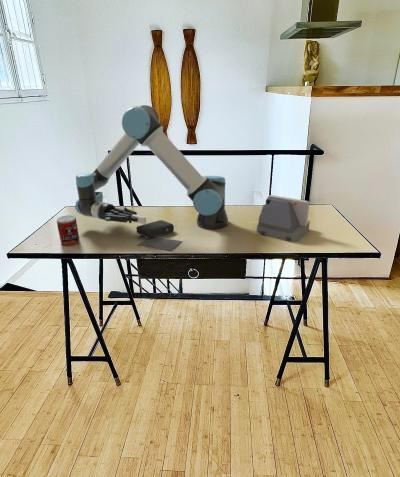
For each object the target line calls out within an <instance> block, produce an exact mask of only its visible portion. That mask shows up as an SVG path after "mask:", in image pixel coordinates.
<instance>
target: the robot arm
mask: <svg viewBox="0 0 400 477" xmlns="http://www.w3.org/2000/svg"><path fill="white" fill-rule="evenodd" d="M121 126H122V129H123V132H124V134H123V135H122V137H120V139H119V140H118V142H116V144H115V145H114V146H113V147H112V149H111V150H110V151H109V152H108V154H106V156H105V157H104V158H103V160H102V161H101V162H100V164H98V165H97V167H96V168H95V170H94V171H93V172H92V173H91V172H81V173H78V174H76V175H75V184H76V190H77V194H78V199H77V200H76V201H75V206H74V210H76V213H78V214H80V215H83V216H86V217H92V218H96V219H99V220H103V221H106V222H117V223H126V224H127V223H128V224H132V223H133V222H134V223H139V224H141V225H144V224H147V217H146V216H144V215H139V214H138V213H137V211H135V210H131V209H129V208H127V207H123V208H122V209H121V208H118V207H115V205H113V204H112V203H106V202H103V201H102V202H98V201H96V193H95V192H97V190H100V189H101V188H102V187H105V186H106V184H108V183H109V180H110V178H112V176H113V175H114V174H115V173H116V171H117V170H118V169H119V168H120V167H121V166H122V165H123V163H124V162H126V161H127V160H126V159H128V158H129V156H130V155H131V154H132V153H133V152H134V151H135V149H136V148H137V147H138V146H141V147H147V148H148V149H149V150H150V152H152V153H153V155H155V156H156V158H158V160H159V161H160V162H161V164H163V165H164V167H166V169H167V170H168V171H169V172H170V173H171V174H172V175H173V176H174V177H175V178H176V179H177V181H178V182H179V183H180V184H181V185H182V187H184V189H185V190H186V196H187V197H188V198H189V199H190V200H191V202H192V206H193V208H194V209H195V211H196V212H197V213H198V215H197V218H196V225H197V226H198V227H200V228H202V229H206V230H217V229H222V228H225V227H227V226H228V225H229V218H228V214H227V211H226V178H225V177H224V176H221V175H220V176H218V175H204V176H203V175H201V174H200V172H199V171H198V170H197V169H196V168H195V167H194V166H193V164H192V163H190V162H191V161H189V160H188V159H187V158H186V157H185V155H184V154H183V153H182V152H181V151H180V149H178V148H177V146H176V145H175V144H174V143H173V142H172V141H171V140H170V138H169V137H168V136H167V135H166V134H165V133H164V126H163V125H162V123H160V117H159V114H158V112H157V110H156V109H155V108H153V107H152V106H151V105H146V104H144V105H135V106H131V107H130V108H128V109H127V110H125V111H124V113H123V115H122V118H121ZM139 144H140V145H139Z"/></svg>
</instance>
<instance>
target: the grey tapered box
mask: <svg viewBox="0 0 400 477" xmlns="http://www.w3.org/2000/svg"><path fill="white" fill-rule="evenodd" d="M309 208H310V201H308V200H304V199H297V198H292V197H285V196H281V195H280V196H279V195H273V194H270V195H268V196H267V198H266V200H265V204H263V205H262V208H261V211H260V214H259V216H258V223H257V225H256V233H257V234H259V235H263V236H267V237H272V238H276V239H280V240H284V241H288V242H292V243H293V242H299V240H301V238H302V237H303V236H304V235H306V234H307V233H308V232H309V230H310V224H311V220H310V219H309V218H308V217H309Z"/></svg>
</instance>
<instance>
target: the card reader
mask: <svg viewBox="0 0 400 477" xmlns="http://www.w3.org/2000/svg"><path fill="white" fill-rule="evenodd" d="M174 230H175V226H174V224H173V223H171V222H168V221H166V220H163V219H161V220H160V219H159V220H156V221H151V222H148V223H145V224H141V225H138V226H136V229H135V231H136V234H138V235H140V236H142V237H144V238H152V237H159V236H163V235H165V234H170V233H173V232H174Z"/></svg>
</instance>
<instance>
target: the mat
mask: <svg viewBox="0 0 400 477" xmlns="http://www.w3.org/2000/svg"><path fill="white" fill-rule="evenodd" d="M182 242H183V240H178V239H171V238H166V237H165V238H164V237H159V236H155V237H152V238H147V237H145V238H144V239H143V240H141V241H140V242H139V243H137V245H136V246H137V247H144V248H149V249H155V250H162V251H166V252H167V251H168V252H173V251H174V250H175V249H176V248H177V247H178V246H179V245H181V243H182Z"/></svg>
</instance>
